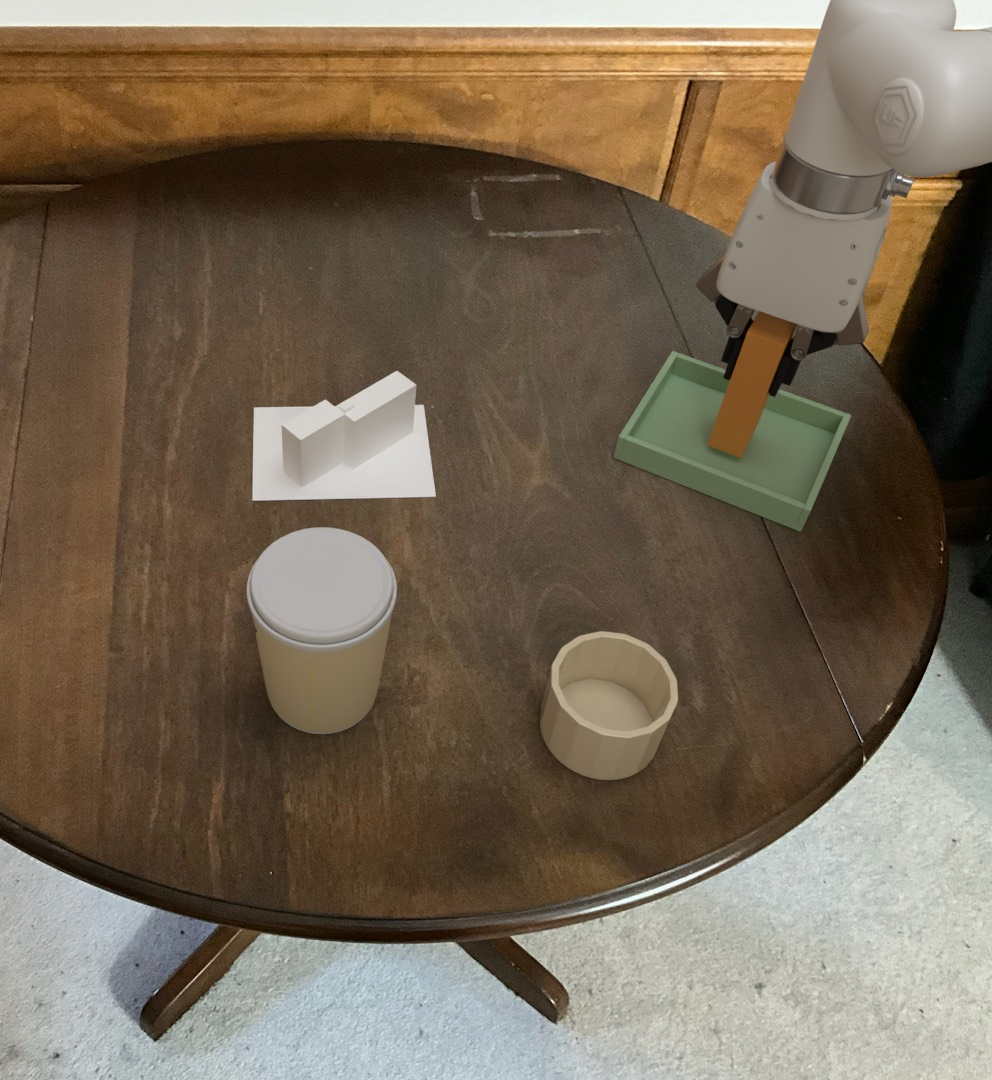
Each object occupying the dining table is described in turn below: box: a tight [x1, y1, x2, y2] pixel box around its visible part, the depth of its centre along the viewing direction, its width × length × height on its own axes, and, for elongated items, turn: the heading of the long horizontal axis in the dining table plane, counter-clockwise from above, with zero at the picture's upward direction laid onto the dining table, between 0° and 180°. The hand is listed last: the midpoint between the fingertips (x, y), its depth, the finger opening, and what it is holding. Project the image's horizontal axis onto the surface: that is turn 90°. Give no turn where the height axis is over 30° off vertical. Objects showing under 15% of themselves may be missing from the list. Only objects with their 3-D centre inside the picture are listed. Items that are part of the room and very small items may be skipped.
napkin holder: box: [251, 370, 437, 502], centre depth 91 cm, size 15×11×6 cm
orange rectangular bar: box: [707, 311, 798, 458], centre depth 90 cm, size 3×4×12 cm, turn 151°
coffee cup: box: [246, 526, 398, 735], centre depth 73 cm, size 9×9×12 cm
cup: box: [539, 630, 679, 781], centre depth 74 cm, size 8×8×6 cm
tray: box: [612, 350, 852, 533], centre depth 95 cm, size 16×13×2 cm
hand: (754, 376), depth 90 cm, fingers closed on orange rectangular bar, 3 cm apart
